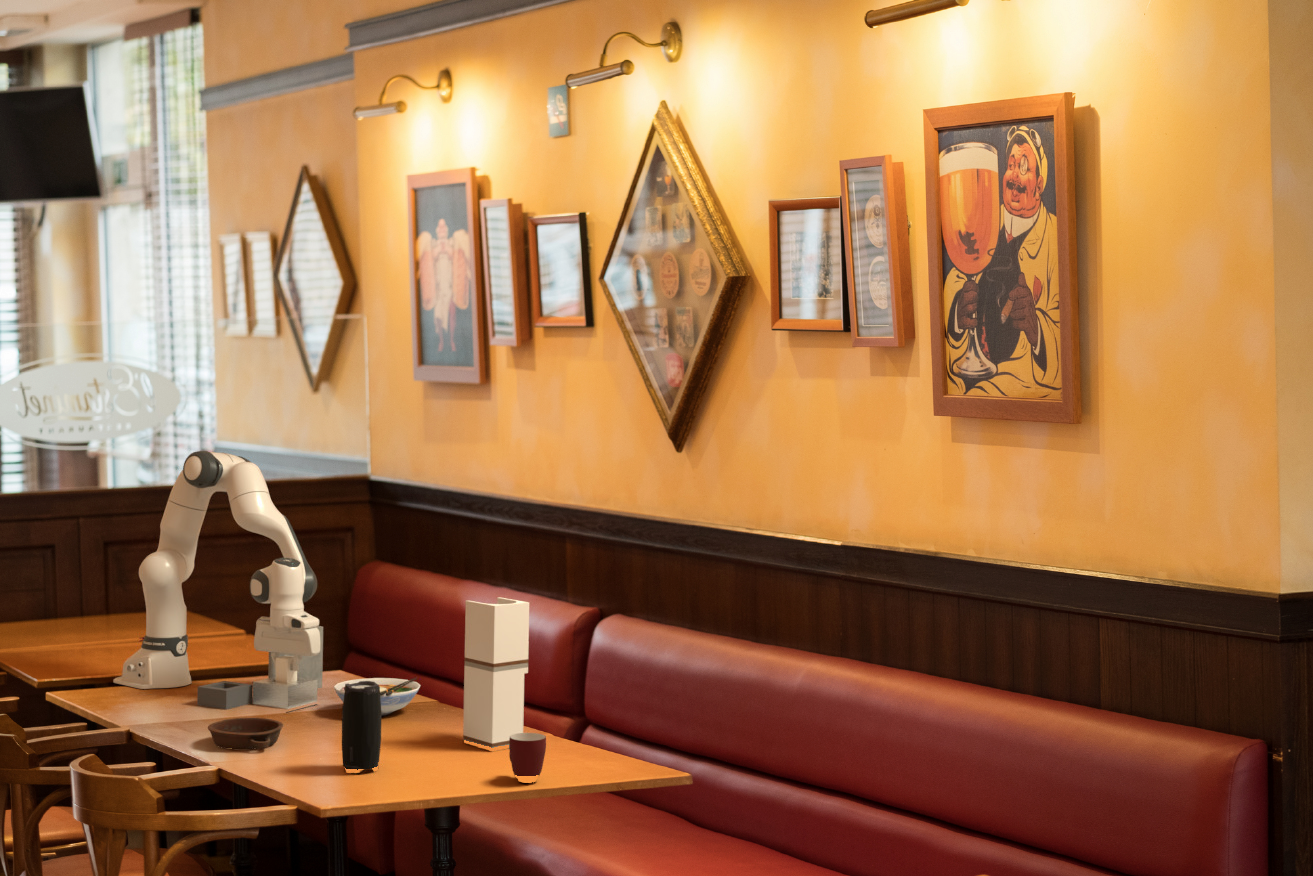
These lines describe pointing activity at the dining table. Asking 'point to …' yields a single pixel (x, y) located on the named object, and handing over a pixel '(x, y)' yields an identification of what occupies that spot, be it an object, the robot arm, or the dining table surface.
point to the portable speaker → (361, 725)
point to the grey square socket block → (224, 695)
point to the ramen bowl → (387, 692)
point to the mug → (527, 753)
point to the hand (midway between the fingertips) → (286, 669)
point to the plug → (285, 670)
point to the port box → (285, 693)
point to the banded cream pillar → (495, 670)
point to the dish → (245, 733)
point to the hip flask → (305, 664)
